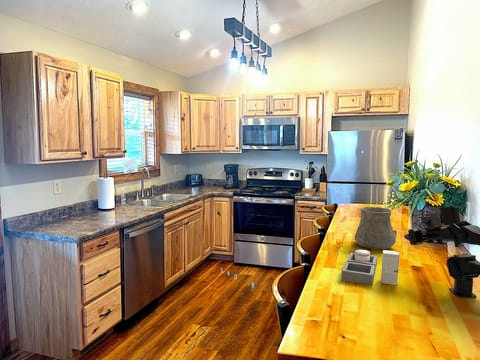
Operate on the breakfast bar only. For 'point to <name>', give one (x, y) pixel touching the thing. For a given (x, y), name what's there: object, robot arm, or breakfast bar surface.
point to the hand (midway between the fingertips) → (413, 235)
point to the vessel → (375, 228)
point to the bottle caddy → (360, 267)
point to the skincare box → (390, 267)
